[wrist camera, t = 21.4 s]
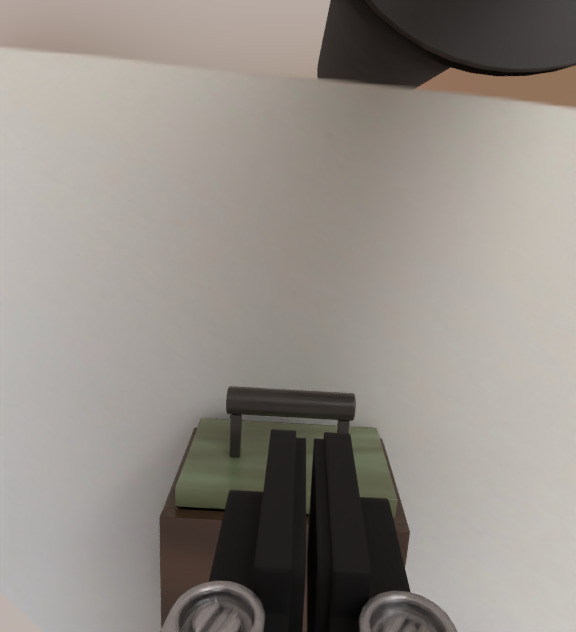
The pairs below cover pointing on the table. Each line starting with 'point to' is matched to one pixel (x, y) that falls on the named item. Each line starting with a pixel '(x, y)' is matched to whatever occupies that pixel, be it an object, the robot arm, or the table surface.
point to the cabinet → (215, 544)
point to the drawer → (253, 444)
